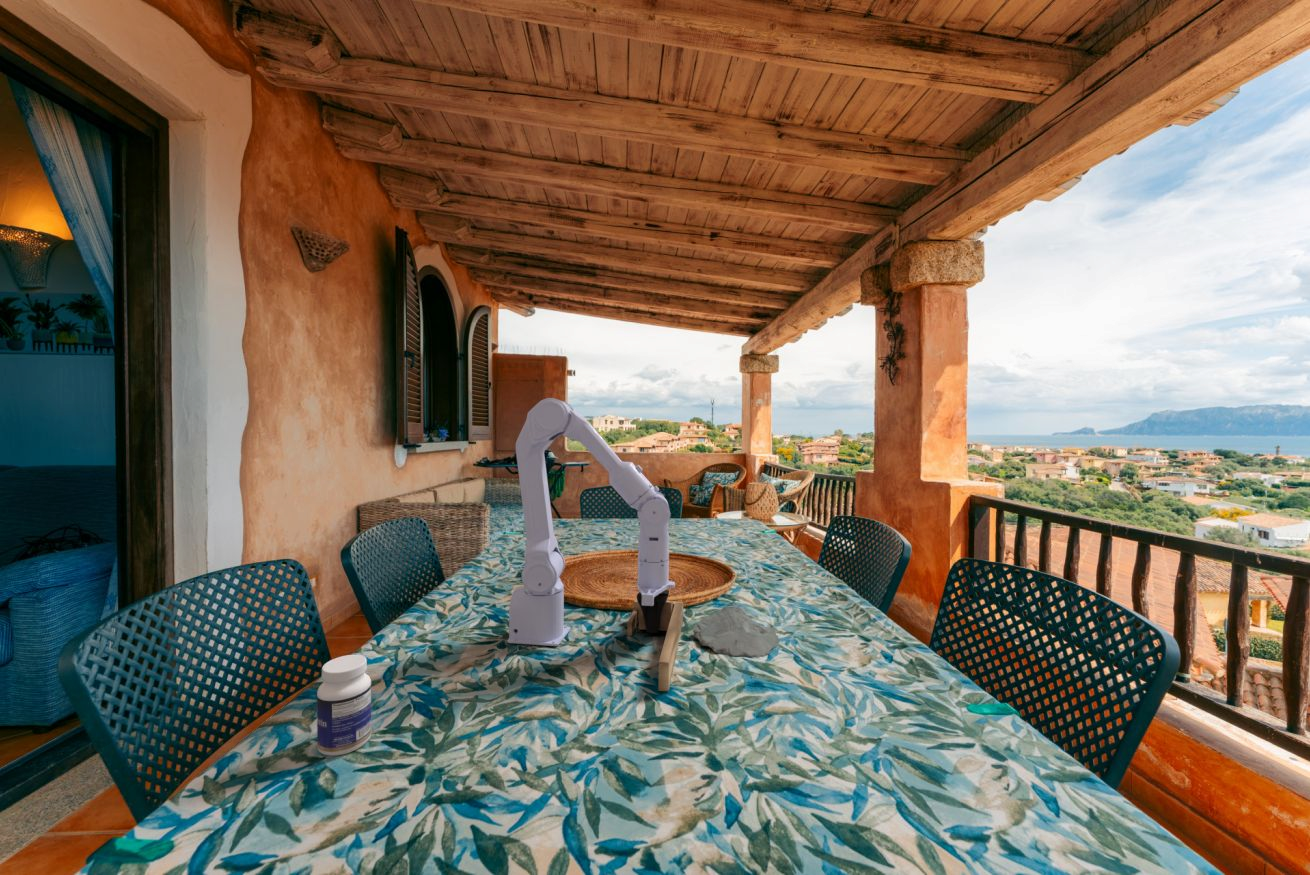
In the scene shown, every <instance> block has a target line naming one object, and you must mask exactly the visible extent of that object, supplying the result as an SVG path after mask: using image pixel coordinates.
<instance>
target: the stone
mask: <svg viewBox="0 0 1310 875" xmlns="http://www.w3.org/2000/svg"><path fill="white" fill-rule="evenodd" d="M692 629H693V630H692V632H693V634H694V639H696V640H698V641H699V643H700V645H701V646H703V647H709V648H711V650H712V651H713V652H714V654H720V655H726V656H727V655H728V656H730V657H733V658H738V657H744V658H745V657H746V658H757V659H759V658H761V657H762V658H764V657H766V656H768V655H770V654H771V651H772V650H773V649H775V648H777V647H778V646H779V643H780V642H779V636H778V635H777V632H776V628H774V627H771V626H769V627H768V626H764V625H762V624H760V623H758V622H756V621H754V620H753V619H752V618H751V617H750V616H749V615H748V614H747V613H746V610H745V609H744V608H743V607H741V606H739V605H728V606H723V607H722V608H721V609H720V610H717V611H716V612H714V613H712V614H710V615H708V616H706V617H704V618H702V619H701V620H700V621H697V622H695V623H694V625H693V628H692Z"/></svg>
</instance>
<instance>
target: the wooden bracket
mask: <svg viewBox="0 0 1310 875" xmlns="http://www.w3.org/2000/svg"><path fill="white" fill-rule="evenodd" d="M669 601H670V602H673V612H672V616H671V619H670V623H669V627H668V630H667V631H666V634H665V639H664V641H663V642H664V643H663V645H662V649H661V653H660V656H659V659H658V692H659V691H660V692H669V690H670V686H671V682H672V677H673V671H674V666H675V662H676V657H677V653H678V649H679V642H680V638H681V634H682V628H683V623H684V601H673V600H669ZM639 611H640V605H639V603H638V601H637V598H636V599H634V601H633V610H632V612H631V615H630V616H629V618H628V621H627V625H626V628H627V633H626V634H627V637H629V636H633V634H634V631H635V630H636V627H637V624H638V623H639Z"/></svg>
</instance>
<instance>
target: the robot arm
mask: <svg viewBox="0 0 1310 875" xmlns="http://www.w3.org/2000/svg"><path fill="white" fill-rule="evenodd" d="M560 436H563V437H565V438H568V439H570V440H574V441H576V442H579V443H580V444H581V445H582V446H584V448H585V449H586V450H587V451H588V452H589V453H590V455H592V456H593V458H595V459H596V460H597V461H598V463H600V465H602V467H604V469H605V470H606V471H607V472H608V474H609V476H608V484H610V486H611V487H612V488H613V489H614V490H615V492H617V494H618V495H620V497H621V498H622V499H623V500H624V501H625V502H626V504H627V505H628V506H629V507H630V508H631V509H635V510H637V519H638V520H639V532H638V535H637V539H638V540H637V542H638V544H637V548H638V549H637V551H638V552H637V553H638V554H637V581H636V588H637V589H638V591H639V592H638V593H637V595H636V599H637V601H638V603H639V605H640V607H641V609H642V612H643V616H644V621H645V626H646V629H645V630H646V632H647V633H651V634H652V633H653V634H654V633H655V634H658V633H659V631H660V630H659V627H660V622H661V617H662V611H663V607H664V604H665V602H666V601H668V597H669V594H670V591H669V589H674V588H675V586H676V582H675V581H671V580H669V579H670V578H669V575H670V573H669V572H670V571H669V570H670V568H669V566H670V564H669V562H670V561H669V560H670V534H669V532H668V531H669V529H670V528H669V521H670V518H671V514H672V513H671V511H670V510H671V509H670V505H669V502H668V500H667V499H666V498H665V494H663V493H661V492H659V491H660V488H659V486H657V485H655V486H654V484H652V483H651V482H650V481H649V479H647V478H646V476H645V474H643V473H642V472H643V467H641V466H640V465H639V464H636V465H635V464H634V463H633V461H623V460H621V459H620V457H619V456H618V454H616V453H615V451H614V450H613V449H612V448H611V446H610V445H609V444H608V443H607V442H606V441H605V439H604V438H603V437H602V436H601V435H600V433H599V432H598V431H597V429H595V428H594V426H593V425H592V424H591V423H590V421H588V420H587V419H586V418H585V417H584V416H583V415H581V414H580V413H579V412H578V411H575V410H574V408H573V407H572V406H571V404H570V403H568V402H567V401H563V400H560V399H557V398H555V397H554V398H553V397H552V398H551V397H548V398H544V399H542V400H540V401H539V402H537V403H536V404H535V405H534V406H533V407H532V408H531V409H530V410H529V411H528V412H527V416H526V419H525V422H524V424H523V426H522V429H521V431H520V433H519V435H518V437H517V439H516V442H515V455H516V456H515V457H516V462H517V470H518V471H517V473H518V478H519V486H520V487H519V488H520V495H521V504H522V511H523V519H524V520H523V521H524V528H525V537H526V545H525V548H524V555H523V556H524V566H523V569H522V572H521V582H522V585H523V586H524V587H517V588H515V589H514V590H513V592H512V594H511V597H510V600H509V607H508V608H509V609H508V610H509V611H508V612H509V613H508V614H509V617H508V618H509V619H508V622H509V623H508V627H509V629H508V630H509V631H508V632H509V634H508V639H507V643H509V644H518V645H519V644H521V645H532V646H533V645H534V646H535V645H536V646H549V647H558V646H559V645H560V644H561V642H562V641H563V640H564V638H566V636H567V635H568V633H569V632H570V631H571V627H570V626H566V625H564V615H565V614H564V612H565V610H564V609H565V607H564V604H565V603H564V602H565V598H564V596H565V594H564V593H565V585H564V583H563V582H562V580H561V578H560V576H561V575H562V574H563V573H564V571H565V567H566V560H565V558H564V556H563V553H562V552H561V551H560V549H559V542H558V540H557V538H556V536H555V533H554V532H555V531H554V524H553V515H552V508H551V499H550V490H549V483H548V482H549V481H548V474H547V466H546V458H545V451H546V450H547V449H548V448H549V447H550V445H552V443H553V442H555V439H557V438H558V437H560Z"/></svg>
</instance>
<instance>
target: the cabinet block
mask: <svg viewBox="0 0 1310 875" xmlns="http://www.w3.org/2000/svg"><path fill="white" fill-rule="evenodd" d="M670 601H671V600H666V602H665V604H664V607H663V611H662V617H661V622H660V627H659V630H658V631H665V632H667V630H668V627H669V623H670V619H671V616H672V612H673V602H670ZM638 630H646V626H645V621H644V616H643V612H642V609H641V607H640V611H639V622H638Z"/></svg>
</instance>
